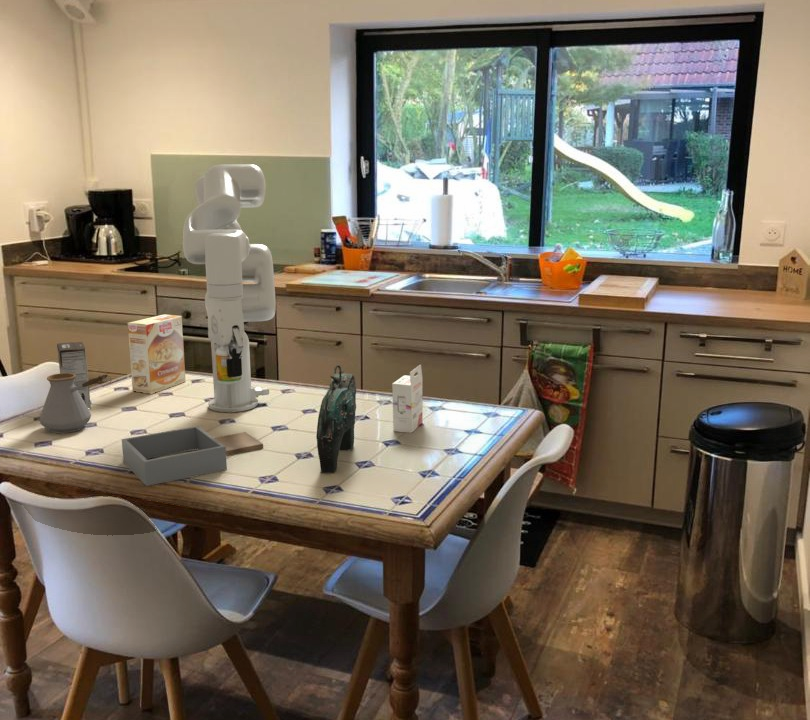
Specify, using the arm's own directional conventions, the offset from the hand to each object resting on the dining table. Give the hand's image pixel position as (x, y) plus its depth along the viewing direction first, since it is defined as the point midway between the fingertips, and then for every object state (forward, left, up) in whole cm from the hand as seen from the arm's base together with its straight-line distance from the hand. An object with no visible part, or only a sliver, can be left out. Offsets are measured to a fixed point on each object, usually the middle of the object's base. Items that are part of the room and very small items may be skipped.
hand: (229, 372), depth 185 cm
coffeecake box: (-2, -60, -17) cm, 62 cm away
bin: (+15, +5, -17) cm, 23 cm away
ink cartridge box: (-40, +10, -17) cm, 45 cm away
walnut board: (0, 0, -17) cm, 17 cm away
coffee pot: (+26, -30, -17) cm, 43 cm away
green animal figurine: (-16, +20, -17) cm, 31 cm away
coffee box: (+22, -53, -17) cm, 60 cm away
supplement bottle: (0, 0, -2) cm, 2 cm away
